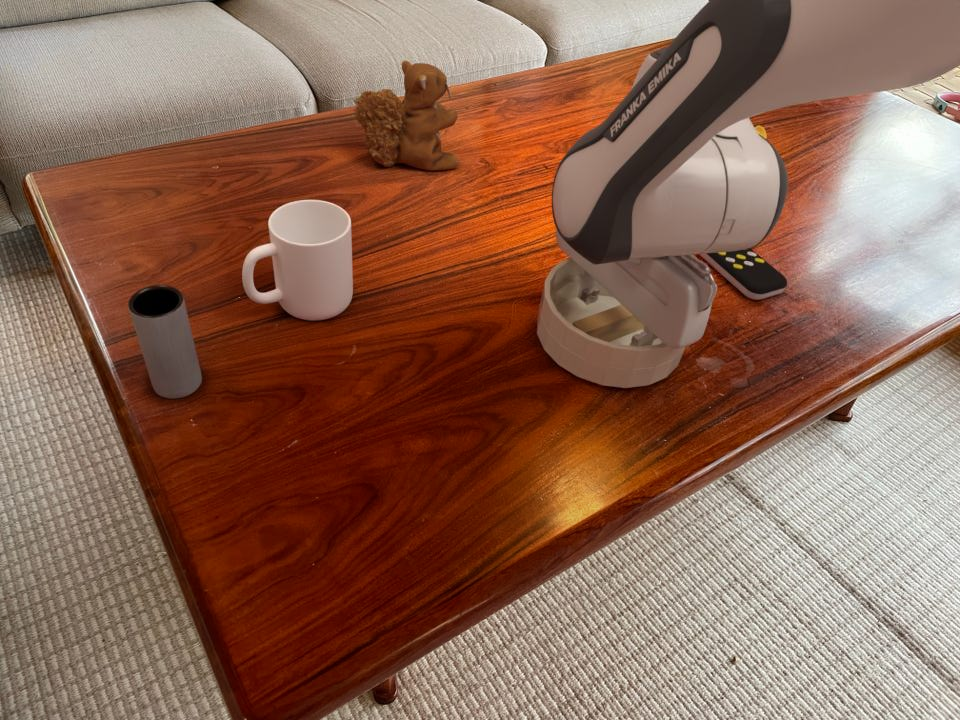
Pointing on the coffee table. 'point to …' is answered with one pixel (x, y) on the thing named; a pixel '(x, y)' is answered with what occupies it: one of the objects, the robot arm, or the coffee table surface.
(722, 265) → the remote control
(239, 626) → the coffee table surface
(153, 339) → the grey hollow cylinder
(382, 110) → the stuffed squirrel
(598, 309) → the bowl
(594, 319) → the tan wooden bar
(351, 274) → the cup
